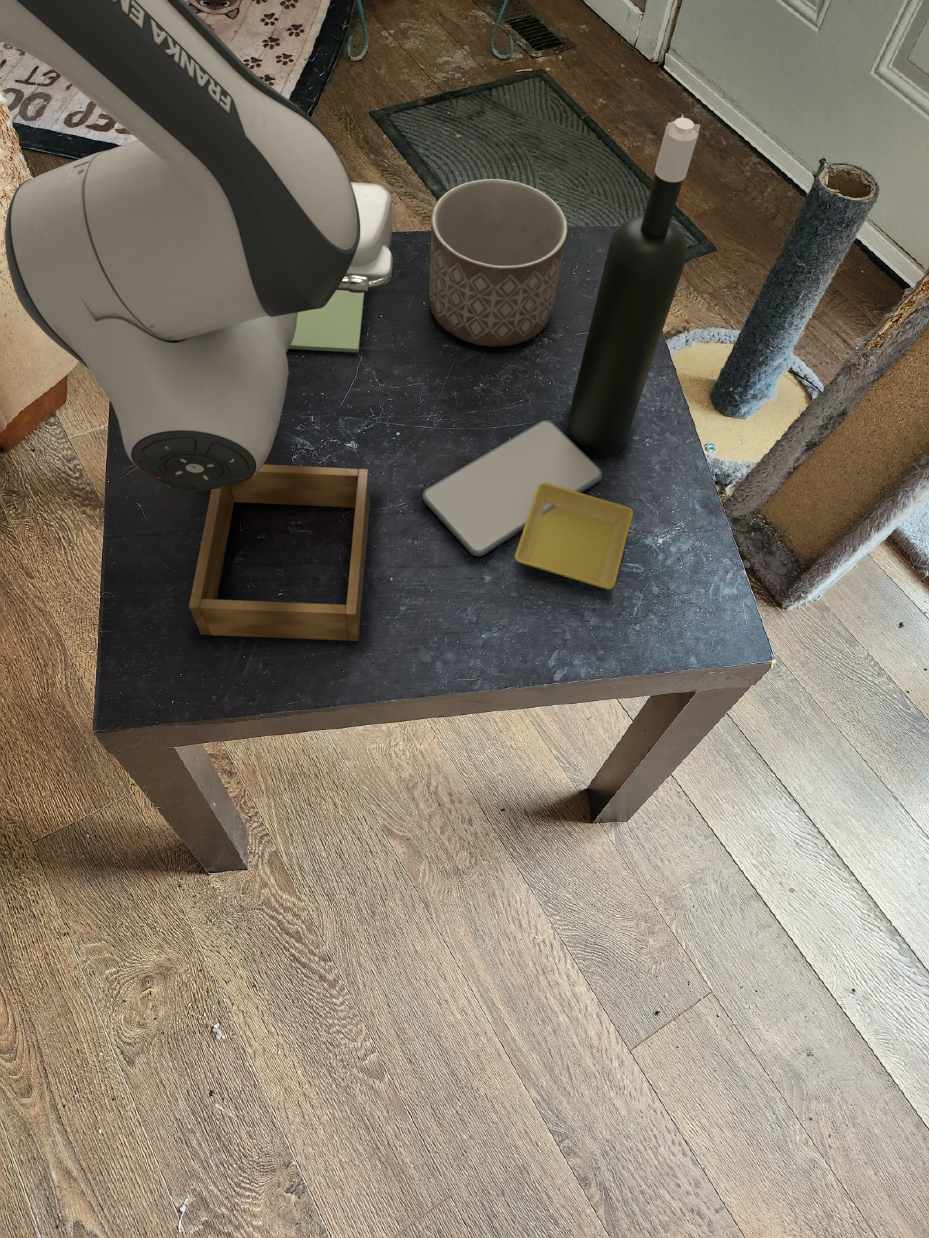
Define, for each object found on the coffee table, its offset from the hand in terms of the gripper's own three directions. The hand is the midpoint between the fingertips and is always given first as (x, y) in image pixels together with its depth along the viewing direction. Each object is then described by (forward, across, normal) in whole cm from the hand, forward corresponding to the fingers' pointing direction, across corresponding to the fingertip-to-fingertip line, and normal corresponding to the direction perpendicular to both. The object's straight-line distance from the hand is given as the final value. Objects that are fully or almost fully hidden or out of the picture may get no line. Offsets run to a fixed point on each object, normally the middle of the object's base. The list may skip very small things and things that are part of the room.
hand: (261, 156), depth 65 cm
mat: (+8, +1, +22) cm, 23 cm away
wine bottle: (-6, -29, +22) cm, 37 cm away
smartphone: (-13, -21, +22) cm, 33 cm away
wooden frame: (-22, -2, +22) cm, 31 cm away
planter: (+10, -19, +22) cm, 31 cm away
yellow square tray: (-19, -26, +22) cm, 39 cm away
